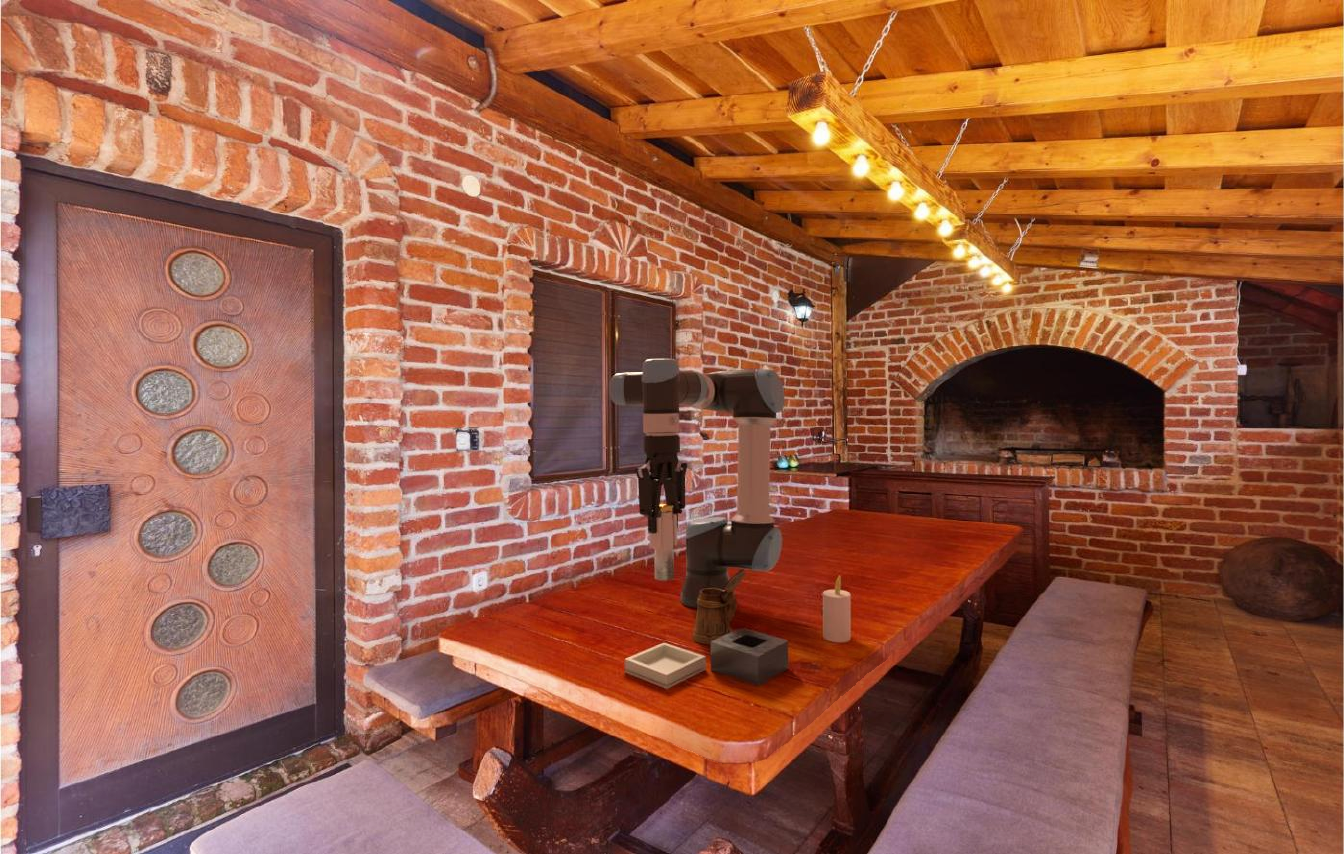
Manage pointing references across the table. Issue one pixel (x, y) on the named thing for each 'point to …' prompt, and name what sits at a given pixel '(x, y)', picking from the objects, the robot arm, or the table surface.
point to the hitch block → (749, 656)
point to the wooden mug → (716, 611)
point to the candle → (836, 614)
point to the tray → (665, 665)
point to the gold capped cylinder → (665, 545)
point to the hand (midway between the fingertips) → (663, 546)
